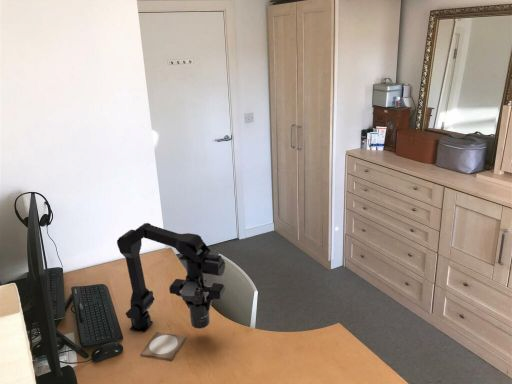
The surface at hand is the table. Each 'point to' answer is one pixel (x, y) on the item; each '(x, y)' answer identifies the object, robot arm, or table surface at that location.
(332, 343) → the table surface
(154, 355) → the walnut board
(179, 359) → the table surface
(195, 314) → the supplement bottle
